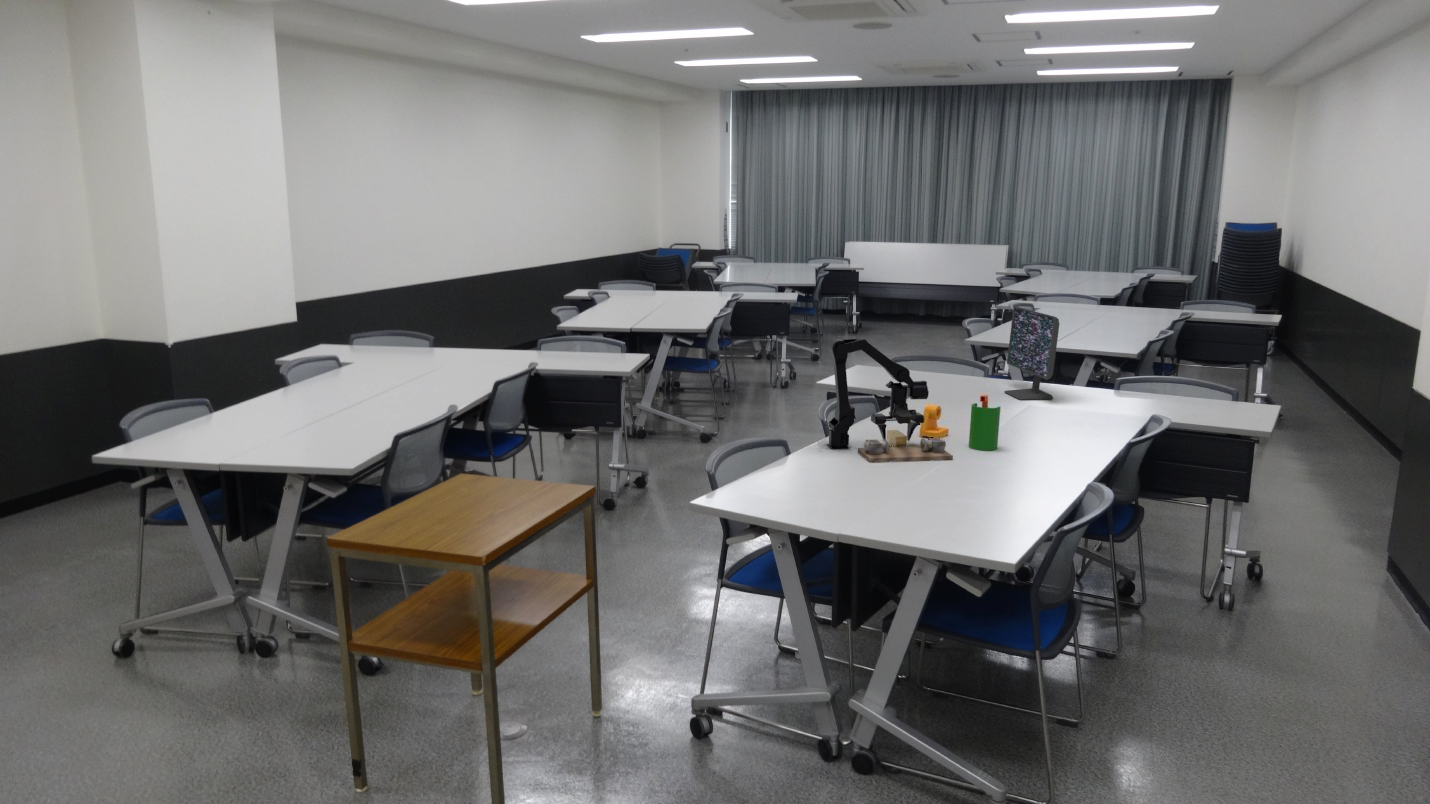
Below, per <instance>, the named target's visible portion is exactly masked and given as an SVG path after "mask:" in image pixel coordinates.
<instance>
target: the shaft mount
mask: <svg viewBox="0 0 1430 804" xmlns="http://www.w3.org/2000/svg"><path fill="white" fill-rule="evenodd" d="M919 443H920V444H919V445H920V446H919V445H918V446H917V445H916V446H915V445H914V446H906V447H892V446H890V444H889V440H888V439H887V438H886V439H884V440H883V439H882V441H880V440H878V439H866V440H865V441H864V443H863V444H864V445H863V446H864V447H858V448H857V453H858V454H859V455H860V454H861V457H863V459H865V458H866V459H867V460H866V461H868V462H869V463H870V462H872V463H890V462H889V461H903V462H926V461H928V462H930V460H934V461H953V460H954V455H953V454H951V453H949V452H948V451H947V450H945V449H946V446H947V442H946V440H945V439H942V438H941V439H940V438H931V437H925V438H923V437H921V439H920V442H919Z"/></svg>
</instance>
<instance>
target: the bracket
mask: <svg viewBox="0 0 1430 804" xmlns="http://www.w3.org/2000/svg"><path fill="white" fill-rule="evenodd" d="M922 415H923V416H924V423H920V428H919V436H922V437H926V436H927V437H926V438H931V437H933V438H941V439H944V438H946V437H947V435H949V431H950V428H948V427H945V426H944V427H943V426H938V422H937V421H939V420H940V418H941V415H942V407H941V405H936V404H926V405H925V407H924V410H923V414H922ZM945 436H946V437H945Z"/></svg>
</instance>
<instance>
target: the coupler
mask: <svg viewBox="0 0 1430 804" xmlns="http://www.w3.org/2000/svg"><path fill="white" fill-rule="evenodd" d="M886 430H887V431H886V439H888V440H889V444H890V445H891V446H890V447H892V446H893V447H908V446H907V444H908V443H907V442H908V440H907V434H906V435H905V434H904V433H903V432H901V431H900V430H898V429H886Z"/></svg>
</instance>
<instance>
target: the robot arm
mask: <svg viewBox="0 0 1430 804" xmlns="http://www.w3.org/2000/svg"><path fill="white" fill-rule="evenodd" d="M827 345H828V346H827V347H828V352H829V355H830V358H831V361H832V363H833V371H834V373H833V374H834V383H835V394H836V404H835V409H834V417H832V419H830V420H829V421H828V427H829V430H828V443H826V445H827V446H828V447H829V448H830V449H832V450H836V449H837V450H838V449H839V450H842V449H849V447H850V446H849V445H850V435H849V430H850V428H851V427H852V426H853V425H854V423H855V420H856V418H857V417H856V414H855V413H856V411H855V410H856V408H855V407H854V406H853V405H852V404H850V400H849V390H848V378H847V367H846V366H847V365H846V364H847V360H848V355H849V354H850V353H855V352H857V351H861V352H863V353H864V354H866V355H867V356H868V357H870V358H871V359H872V360H873V361H875V363H877V364H878V365H879V366H881V367H882V368H883V369H884V371H886V373H887V374H888V375H889V376H890V377H891V378H892V379H893V380H895V381H896V382H893V381H892V380H889V382H888V383H886V384H885V387H886V388H888V389H890V400H889V404H890V407H889V411H888V415H886V414H885V415H884V414H883V413H872V414H871V416H870V422H872V423H873V424H875V425H876V426H877V428H878V429H879V432H880V435H881V438H882V441H883V440H884V439H887V431H886V430H887V429H886V428H887V427H888V426H887V422H896V423H898V424H900V425H902V424H907V429H906V430H907V433H906V436H907V442H910V440H911V438H912V437H913V434H914V431H915V429H916V428H917V427H918V426H921V423H924V416H923V414H921V413H920V412H917V410H916V409H909V407H908V406H909V405H908V403H907V401H908V400H907V398H909V399H910V400H927V399H928V398H929V392H930V391H929V386H928V382H927V381H926V380H920V381H919V380H918V381H917V380H916V381H914V380H913V379H912V377H911V376H910V374H911V373H910V370H909V369H908V368H907V367H905V366H903V365H902V364H900V363H897V362H896V361H894V360H892V359H890V358H889V357H888V356H886V355H885V354H884V353H882V351H880V350H879V349H877V348H876V347H875V346H873V345H872V344H871V343H869V342H868V341H867V339H865V338H863V337H857V338H848V339H847V338H846V339H840V338H833V339H831V340H830V341H829V343H828V344H827ZM902 383H904V384H902Z"/></svg>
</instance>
